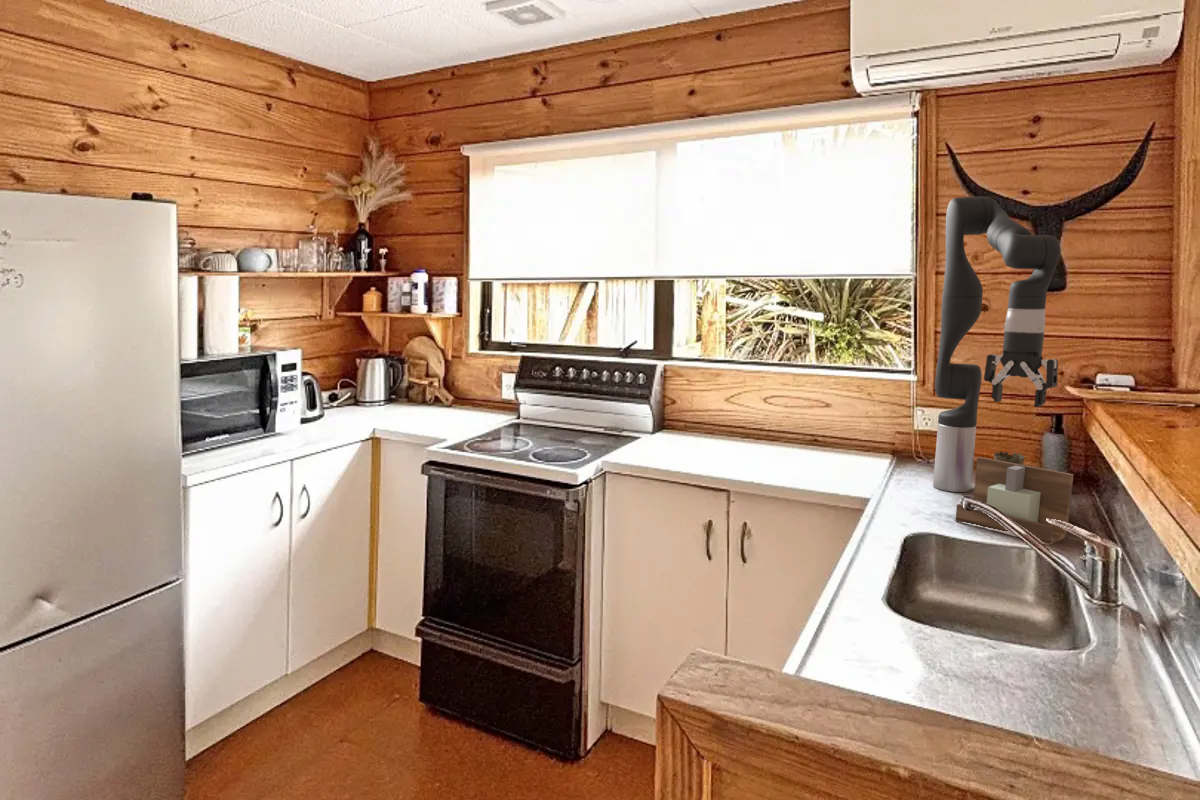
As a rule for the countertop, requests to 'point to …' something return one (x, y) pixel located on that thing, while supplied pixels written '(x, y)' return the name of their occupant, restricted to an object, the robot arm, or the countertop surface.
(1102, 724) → the countertop surface
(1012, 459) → the grey-green lumpy piece
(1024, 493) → the tab block
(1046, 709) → the countertop surface
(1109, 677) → the countertop surface
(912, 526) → the countertop surface
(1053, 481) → the wooden tablet stand
